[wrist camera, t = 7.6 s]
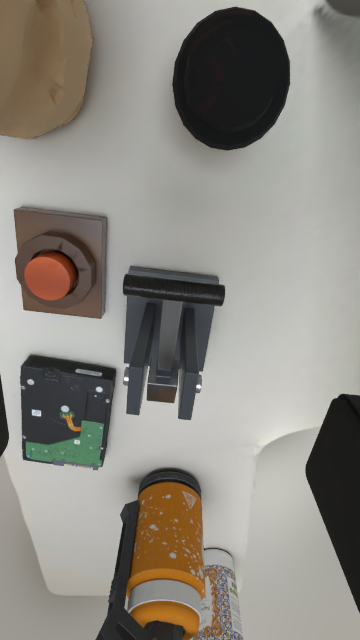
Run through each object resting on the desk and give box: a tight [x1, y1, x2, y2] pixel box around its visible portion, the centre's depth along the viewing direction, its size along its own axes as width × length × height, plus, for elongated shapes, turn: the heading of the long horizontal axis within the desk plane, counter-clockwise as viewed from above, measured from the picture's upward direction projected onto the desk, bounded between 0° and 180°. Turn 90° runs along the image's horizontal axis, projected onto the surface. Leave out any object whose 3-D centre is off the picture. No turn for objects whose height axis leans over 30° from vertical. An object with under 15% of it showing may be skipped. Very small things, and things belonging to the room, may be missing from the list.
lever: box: [123, 274, 225, 403], centre depth 22 cm, size 12×6×2 cm, turn 173°
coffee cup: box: [172, 7, 290, 150], centre depth 22 cm, size 7×7×10 cm
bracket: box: [123, 267, 219, 420], centre depth 30 cm, size 11×9×13 cm
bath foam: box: [193, 549, 243, 640], centre depth 46 cm, size 7×7×20 cm
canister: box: [96, 472, 206, 640], centre depth 38 cm, size 9×11×20 cm
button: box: [24, 251, 77, 300], centre depth 29 cm, size 4×4×2 cm
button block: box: [14, 207, 107, 319], centre depth 31 cm, size 10×8×4 cm
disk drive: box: [20, 356, 116, 470], centre depth 40 cm, size 10×3×15 cm
